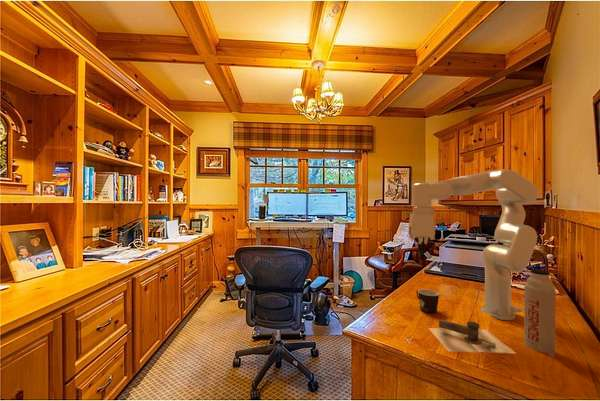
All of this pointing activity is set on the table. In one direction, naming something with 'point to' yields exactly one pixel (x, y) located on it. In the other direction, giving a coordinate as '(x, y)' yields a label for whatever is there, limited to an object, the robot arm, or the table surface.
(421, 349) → the table surface
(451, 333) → the beige flat slab
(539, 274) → the thermos bottle
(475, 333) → the grey door handle
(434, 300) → the coffee mug
